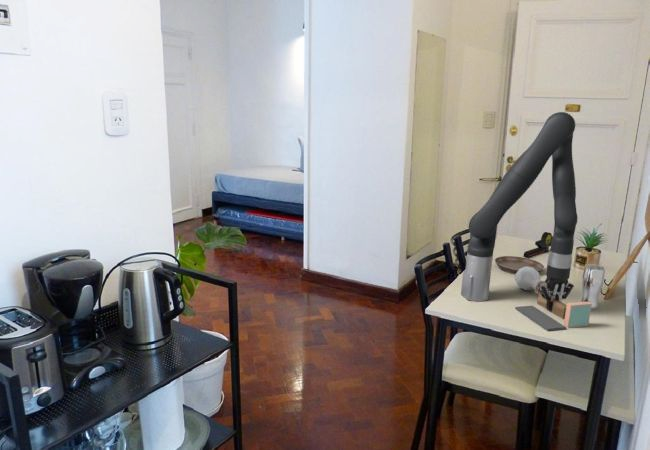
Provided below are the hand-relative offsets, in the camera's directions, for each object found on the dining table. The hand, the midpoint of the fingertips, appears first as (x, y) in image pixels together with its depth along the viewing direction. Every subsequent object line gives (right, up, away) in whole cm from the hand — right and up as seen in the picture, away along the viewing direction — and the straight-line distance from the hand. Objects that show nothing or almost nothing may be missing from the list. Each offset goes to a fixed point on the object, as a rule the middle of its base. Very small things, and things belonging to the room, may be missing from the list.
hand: (552, 309), depth 179 cm
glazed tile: (+3, -3, -11) cm, 12 cm away
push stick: (0, 0, 0) cm, 0 cm away
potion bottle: (0, +4, +18) cm, 18 cm away
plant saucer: (+5, +10, +44) cm, 45 cm away
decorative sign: (+25, +16, +69) cm, 75 cm away
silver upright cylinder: (+16, 0, +6) cm, 17 cm away
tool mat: (-8, -2, -7) cm, 10 cm away
